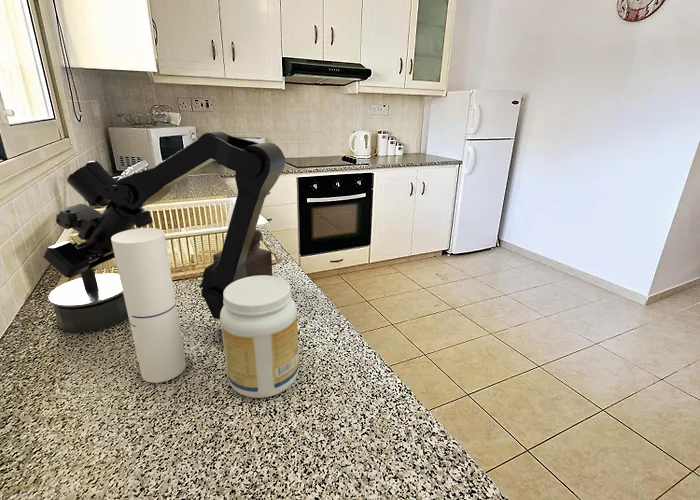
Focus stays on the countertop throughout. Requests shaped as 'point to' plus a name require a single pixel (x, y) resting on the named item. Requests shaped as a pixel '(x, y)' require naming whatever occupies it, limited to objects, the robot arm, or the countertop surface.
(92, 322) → the pan
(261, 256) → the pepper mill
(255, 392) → the supplement tub
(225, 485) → the countertop surface
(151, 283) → the cylindrical container
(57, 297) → the pan lid
